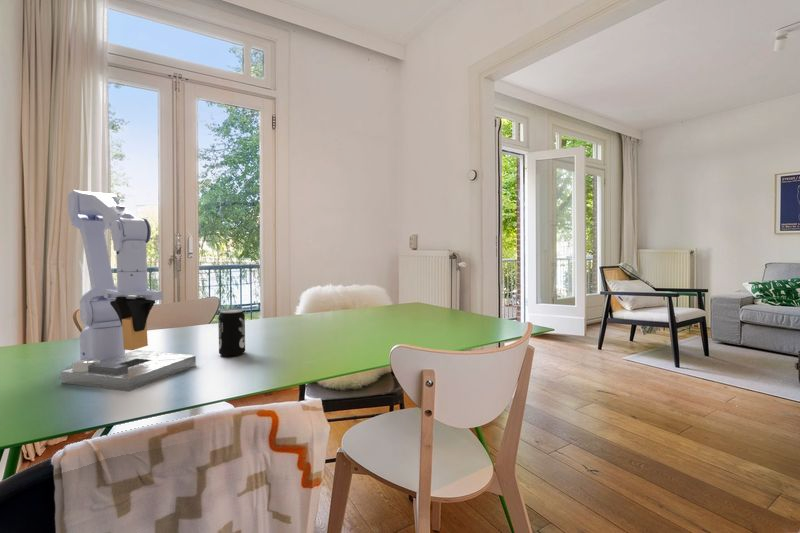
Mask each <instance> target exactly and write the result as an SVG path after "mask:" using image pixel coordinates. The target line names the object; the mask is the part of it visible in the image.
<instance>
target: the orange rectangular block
mask: <svg viewBox="0 0 800 533" xmlns="http://www.w3.org/2000/svg"><path fill="white" fill-rule="evenodd" d="M147 327H148V326H147V321H146V325H145V329H144V330H142V331H138V332H135V331H134V328H133V320H132V317H130V318H125V319H122V330H123V347H124V350H125V351H135V350H138V349H141V348H144V347H147V346H149V343H148V340H149V339H148V328H147Z"/></svg>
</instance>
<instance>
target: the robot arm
mask: <svg viewBox="0 0 800 533" xmlns="http://www.w3.org/2000/svg"><path fill="white" fill-rule="evenodd" d="M67 210H68V216H69V221H70V222H71V225H72V226H73V227H75V228H77V229H79V232H80V235H81V239H82V243H83V244H82V245H83V248H84V254H85V259H86V265H87V270H88V276H89V281H90V286H91V288H90V290H89V291H87V292H85V293H84V294H83V295H82V296H81V298H80V300H79V306H80V307H79V318H80V321H81V323H82V324H83V325H84V328H83V329H82V330H81V331H80V334H79V353H80V354H79V355H80V356H79V359H77V360H76V361H79V360H84V359H100V360H104V359H107V358H111V357H114V356H118V355H121V354H125V353H126V350H124V347H123V330H122V319H125V318H130V317H132V320H133V328H134V331H135V332H138V331H142V330H144V329H145V325H146V322H147V321H148V318H149V315H150V312H151V311H152V308H153V306H154V305H155V304H156V301H159V300H163V290H154V289H148V258H147V255H148V252H147V244H148V243H149V242H150V240H151V236H152V230H151V229H152V228H151V224H150V222H149V220H148V219H147V218H145V217H143V218H137V217H136V216H135V215H134V214H132V212H130V210H128V209H127V208H126V206H125V205H122V204H120V200H119V197H118V196H117V194H115V193H108V192H107V193H106V192H97V191H96V192H95V191H83V190H76V189H71V191H70V192H69V193H68V196H67ZM108 229H109V231H110V236H111V240H112V245H113V251H115V253H116V255H115V258H116V284H117V286H116V285H115V281H114V276H113V271H112V266H111V262H110V255H109V252H108V251H109V250H108V244H107V240H106V235H105V231H106V230H108Z"/></svg>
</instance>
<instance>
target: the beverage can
mask: <svg viewBox="0 0 800 533" xmlns="http://www.w3.org/2000/svg"><path fill="white" fill-rule="evenodd" d="M219 312H220V313H219V315H218V317H217V321H218V325H217V326H218V354H220V356H221V357H224V358H233V357H238V356H242V355H243V354H244V353H245V351H246V318H245V317H246V315H245V313H244V309H242V308H241V309H240V308H228V309H227V308H226V309H221V310H220V311H219Z"/></svg>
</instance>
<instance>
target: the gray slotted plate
mask: <svg viewBox="0 0 800 533" xmlns="http://www.w3.org/2000/svg"><path fill="white" fill-rule="evenodd" d="M196 359H197V356H196V355H194V354H184V353H173V352H172V353H171V352H162V351H161V352H160V351H154V350H153V351H152V350H138V349H135V350H131V351H129V352H125V354H121V355H118V356H114V357H111V358H107V359H104V360H100V359H84V360H79V361H77V360H76V361H73V362H72V363H71V368H70V369H65V370H62V371H60V372H61V384H68V385H75V386H76V385H77V386H83V387H92V388H99V389H100V388H101V389H102V388H103V389H107V390H108V389H109V390H118V391H122V392H123V391H124V392H130V391H133V390H135V389H138V388H141V387H143V386H146V385H149V384H152V383H154V382H157V381H159V380H161V379H164V378H166V377H169V376H172V375H175V374H177V373H179V372H183V371H186V370H187V369H190V368H192V367H193V368H194V367H196V365H197V362H196Z"/></svg>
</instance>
